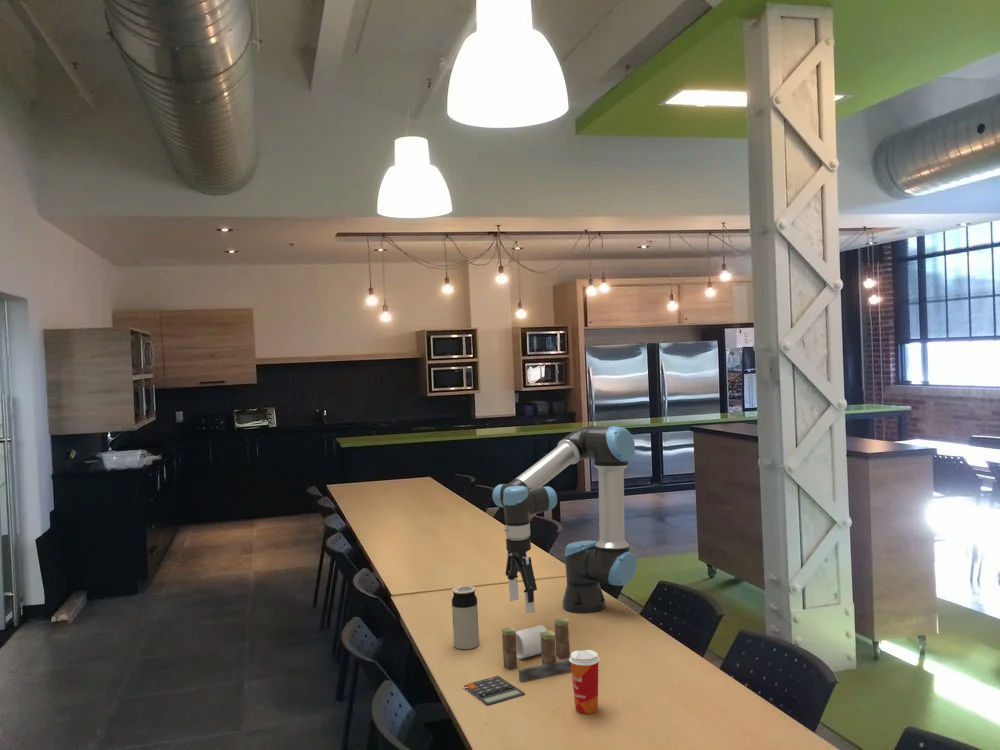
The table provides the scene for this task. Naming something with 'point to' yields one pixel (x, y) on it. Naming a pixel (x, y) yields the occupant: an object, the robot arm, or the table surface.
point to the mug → (529, 641)
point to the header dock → (547, 649)
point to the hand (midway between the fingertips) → (522, 606)
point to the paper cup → (585, 680)
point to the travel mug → (465, 617)
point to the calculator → (493, 690)
